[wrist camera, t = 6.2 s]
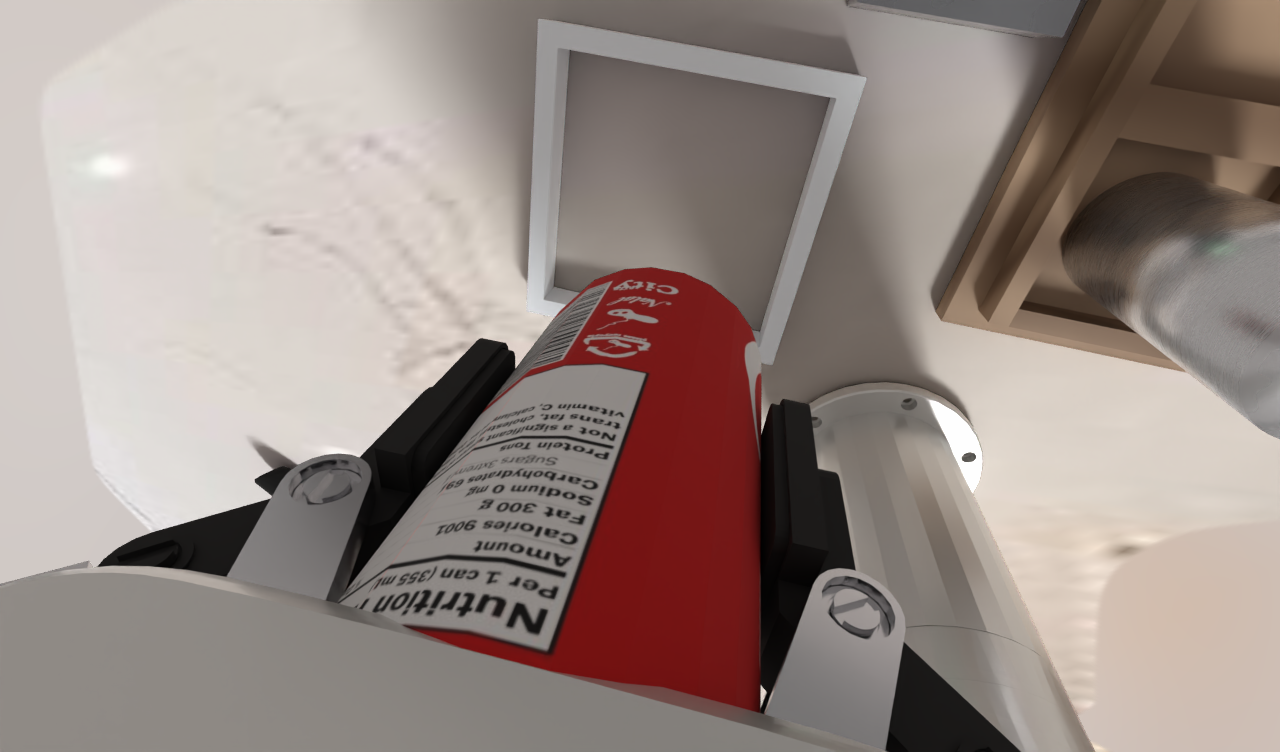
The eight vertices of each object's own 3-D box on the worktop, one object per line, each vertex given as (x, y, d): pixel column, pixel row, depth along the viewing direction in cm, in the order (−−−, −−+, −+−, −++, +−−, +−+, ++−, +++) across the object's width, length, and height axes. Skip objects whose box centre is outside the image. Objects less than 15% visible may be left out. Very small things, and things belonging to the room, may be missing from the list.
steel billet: (1161, 308, 28) (1392, 464, 17) (1037, 283, 28) (1193, 421, 18) (1250, 186, 24) (1598, 290, 14) (1109, 160, 25) (1349, 244, 15)
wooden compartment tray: (1178, 362, 30) (1212, 389, 28) (935, 311, 31) (949, 333, 29) (1632, -206, 18) (1758, -241, 16) (1214, -259, 19) (1276, -300, 17)
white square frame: (771, 349, 34) (772, 365, 32) (537, 298, 35) (526, 311, 33) (859, 74, 26) (867, 77, 24) (551, 19, 27) (538, 18, 25)
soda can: (703, 472, 16) (606, 1181, 6) (532, 396, 16) (134, 1003, 6) (802, 319, 13) (935, 1206, 3) (594, 223, 13) (2, 846, 3)
